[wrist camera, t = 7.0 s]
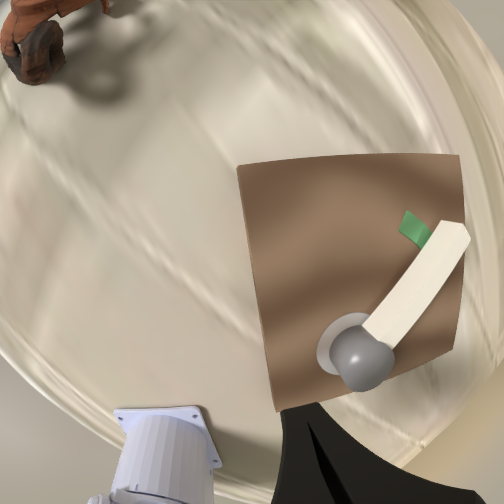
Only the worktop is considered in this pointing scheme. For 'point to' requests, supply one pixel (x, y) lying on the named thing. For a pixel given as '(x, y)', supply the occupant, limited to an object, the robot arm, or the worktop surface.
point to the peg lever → (397, 311)
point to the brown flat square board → (344, 258)
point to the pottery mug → (37, 37)
